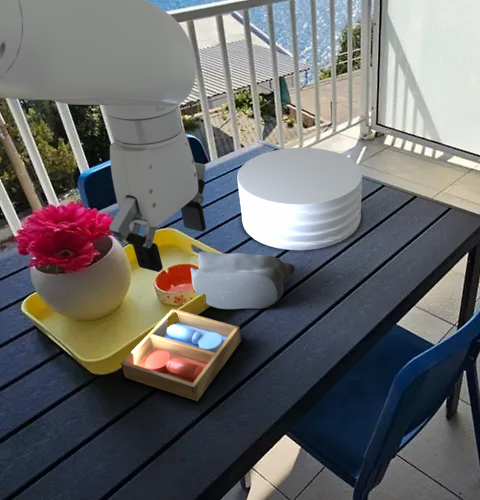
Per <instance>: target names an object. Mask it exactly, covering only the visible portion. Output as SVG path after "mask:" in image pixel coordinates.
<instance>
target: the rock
mask: <svg viewBox="0 0 480 500" xmlns="http://www.w3.org/2000/svg"><path fill="white" fill-rule="evenodd" d="M197 263H198V268H195V267H190V274H191V284H192V288H193V290H194V292H195V294H196V295H197V296H198V297H199V295H201V294H205V295H206V303H207V304H206V303H205V304H206V305H208V306H210V307H213V308H216V309H222V310H238V309H239V310H241V309H267V308H269V307H271V306H272V305H274V304H276V303H277V302H278V301H279V300H280V299H281V298H282V296H283V295H284V292H285V288H284V285H285V284H286V283H287V281H288V279H290V278H289V277H290V276H293V274H294V273H295V270H296V267H295V265H294V264H293V263H289V262H285V261H282V259H280V258H279V257H276V256H271V255H264V254H248V253H243V252H233V253H226V252H225V253H224V252H219V253H218V252H212V251H205V250H204V251H200V252H198V254H197Z"/></svg>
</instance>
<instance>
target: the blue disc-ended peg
mask: <svg viewBox="0 0 480 500" xmlns="http://www.w3.org/2000/svg"><path fill="white" fill-rule="evenodd" d="M167 334H168V336H170V337H172V338H176V339H179V340H182V341H186V342H189V343H192V344H199V348H201V349H204V350H208V351H211V352H215V353H216V352H217V351H218V350H219V348H220V347H221V346H222V344H223V342H222V337H221V336H220V335H219V334H218V333H214V332H211V333H207V334H204V335H203V336H202V334H201V332H199V331H196V330H193V329H189V328H186V327H182V326H179V325H175V324H172V325H170V326H169V327H168V328H167Z"/></svg>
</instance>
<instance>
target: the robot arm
mask: <svg viewBox="0 0 480 500" xmlns="http://www.w3.org/2000/svg"><path fill="white" fill-rule="evenodd" d="M196 76H197V61H196V55H195V51H194V48H193V45H192V42H191V40H190V38H189V36H188V35H187V33H186V31H185V29H184V28H183V27H182V26H181V24H180V23H179V22H178V21H177V20H176V19H175V18H174V16H172V15H171V14H170V13H168V12H167V11H166V10H165V9H163V8H161V7H160V6H158V5H156V4H155V3H153V2H151V1H150V0H0V99H12V100H37V101H53V102H56V103H59V104H65V105H75V106H76V105H80V106H81V105H83V106H104V110H105V113H106V116H107V121H108V124H109V128H110V131H111V135H112V138H113V142H112V143H110V145H109V160H110V162H109V163H110V170H111V179H112V184H113V188H114V193H115V199H116V203H117V207H118V211H117V213H116V215H115V216H114V218H113V220H112V221H111V223H110V225H109V227H108V228H109V231H110V232H111V233H112V234H113V235H114V236H115V237H116V238H117V239H118V240H119V241H120V242H122V243H126V244H128V245H131V246H132V247H133V250H134V254H135V258H136V261H137V265H138V267H139V268H141V269H145V270H149V271H152V272H157V273H160V272H161V271H162V270H163V262H162V259H161V255H160V250H159V246H158V243H155V242H154V238H155V235H156V230H157V227H159V226H160V225H162V224H163V223H165V222H166V221H167V220H169V219H170V218H171V217H172V216H174V215H175V214H176V213H177V212H179V211H180V213H181V218H182V222H183V227H184V228H185V229H189V230H192V231H193V230H194V231H198V232H205V230H207V225H206V220H205V214H204V208H203V204H204V201H205V196H204V195H203V192H204V189H205V187H206V182H205V180H204V179H205V175H206V164H204V163H198V162H195V160H194V156H193V153H192V149H191V145H190V141H189V138H188V137H187V134H186V130H185V129H184V126H183V124H182V119H181V114H180V108H179V105H180V104H183V102H185V101H186V99H188V97H189V96H190V95H191V93H192V91H193V88H194V86H195V83H196ZM142 218H143V219H142ZM141 225H142V226H145V230H144V234H143V236H142V235H140V229H141Z"/></svg>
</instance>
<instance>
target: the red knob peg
mask: <svg viewBox="0 0 480 500" xmlns="http://www.w3.org/2000/svg"><path fill="white" fill-rule="evenodd" d="M146 366H147V369H150V370H153V371H156V372H159V373H164V372H166V371H169V372H172V373H175V374H178V375H181V376H185V377H188V378H191V379H194V380H196V378H197V377H198V376H199V374H200V373H201V372H202V371H203V369H204V368H203V367H202V366H199V365H196V364H193V363H189V362H186V361H183V360H179V359H176V358H172V359H171V356H170V354H169V353H168V352H166V351H157V352H154V353H152V354H151V355H149V356H148V358H147V359H146Z"/></svg>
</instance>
